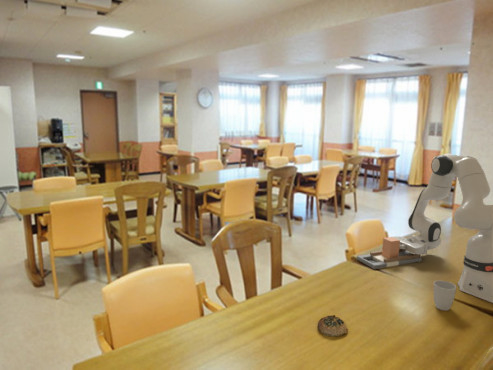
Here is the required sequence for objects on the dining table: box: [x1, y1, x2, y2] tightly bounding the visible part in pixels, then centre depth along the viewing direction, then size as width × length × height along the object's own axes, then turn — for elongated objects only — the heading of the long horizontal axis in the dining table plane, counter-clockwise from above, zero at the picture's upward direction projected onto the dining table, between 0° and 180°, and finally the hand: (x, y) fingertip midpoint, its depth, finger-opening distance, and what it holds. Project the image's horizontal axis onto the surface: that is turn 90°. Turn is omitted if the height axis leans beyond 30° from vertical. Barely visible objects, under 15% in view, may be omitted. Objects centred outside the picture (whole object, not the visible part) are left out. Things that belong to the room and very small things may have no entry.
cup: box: [433, 280, 457, 312], centre depth 150 cm, size 8×8×10 cm
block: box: [381, 236, 400, 258], centre depth 200 cm, size 6×6×10 cm
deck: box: [356, 249, 423, 270], centre depth 200 cm, size 14×32×4 cm, turn 111°
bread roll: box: [317, 314, 349, 337], centre depth 134 cm, size 11×11×5 cm
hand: (395, 246), depth 201 cm, fingers closed
